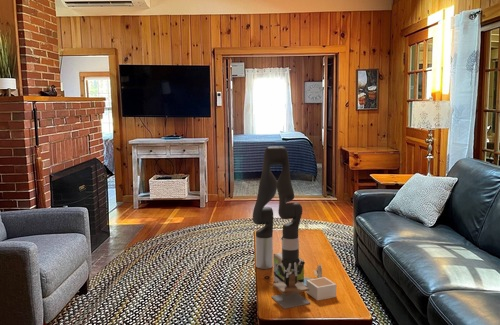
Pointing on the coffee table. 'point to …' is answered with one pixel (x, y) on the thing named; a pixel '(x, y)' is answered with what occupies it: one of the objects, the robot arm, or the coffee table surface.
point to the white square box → (321, 288)
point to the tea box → (277, 275)
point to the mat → (290, 300)
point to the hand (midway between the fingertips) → (290, 283)
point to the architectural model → (318, 271)
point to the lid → (291, 286)
